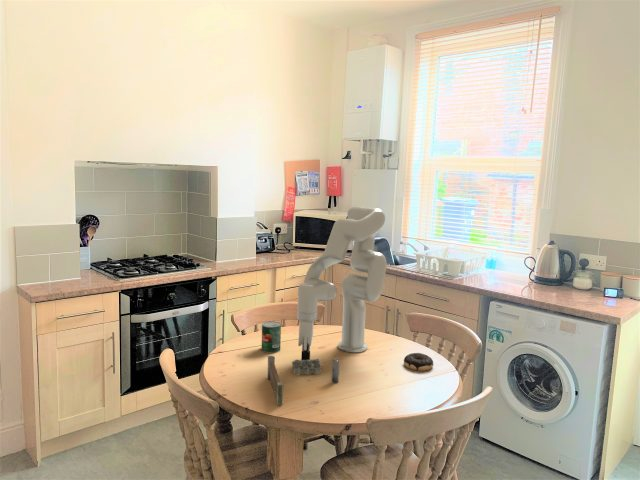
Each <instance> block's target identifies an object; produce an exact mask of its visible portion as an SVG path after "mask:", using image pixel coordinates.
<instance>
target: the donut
mask: <svg viewBox="0 0 640 480" xmlns="http://www.w3.org/2000/svg"><path fill="white" fill-rule="evenodd" d="M403 364H404V366H405V367H406V368H408V369H409V370H412V371H416V370H417V371H419V372H425V371H426V370H427V371H429V370H431V369H432V368H433V367H434V360H433V358H431V357H430V356H429V355H427V354H426V353H425V354H424V353H420V352H413V353H409V354H407V355H406V356H404V359H403Z"/></svg>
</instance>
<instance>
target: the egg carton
mask: <svg viewBox="0 0 640 480" xmlns="http://www.w3.org/2000/svg"><path fill="white" fill-rule="evenodd" d="M291 365H292V366H291V370H292V371H293V375H297V376H300V375H302V374H305V375H310V374H315V375H319V373H321V371H322V370H321V369H322V368H323V367H322V364H321V362H320V360H319V358H316V359H310V360H300V359H294V360H293V361H291Z"/></svg>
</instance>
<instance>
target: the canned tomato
mask: <svg viewBox="0 0 640 480" xmlns="http://www.w3.org/2000/svg"><path fill="white" fill-rule="evenodd" d="M281 334H282V323H281V322H279V321H275V320H273V321H264V322H262V324H261V351H262V352H263V351H264V353H266V352H268V353H269V354H272V353H273V354H274V353H279V352H280V351H281V339H282V338H281ZM278 351H279V352H278Z"/></svg>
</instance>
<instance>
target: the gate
mask: <svg viewBox="0 0 640 480" xmlns="http://www.w3.org/2000/svg"><path fill="white" fill-rule="evenodd" d="M270 383H271V386H272V389H273V392H274V395H275V398H276V405H277V406H283V397H284V396H283V395H284V393H283V392H284V389H283V387H284V386H283V385H284V384H283V382H282V381H281V378H280V375H279V374H278V371H277V368H276V365H274V362H270Z"/></svg>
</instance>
